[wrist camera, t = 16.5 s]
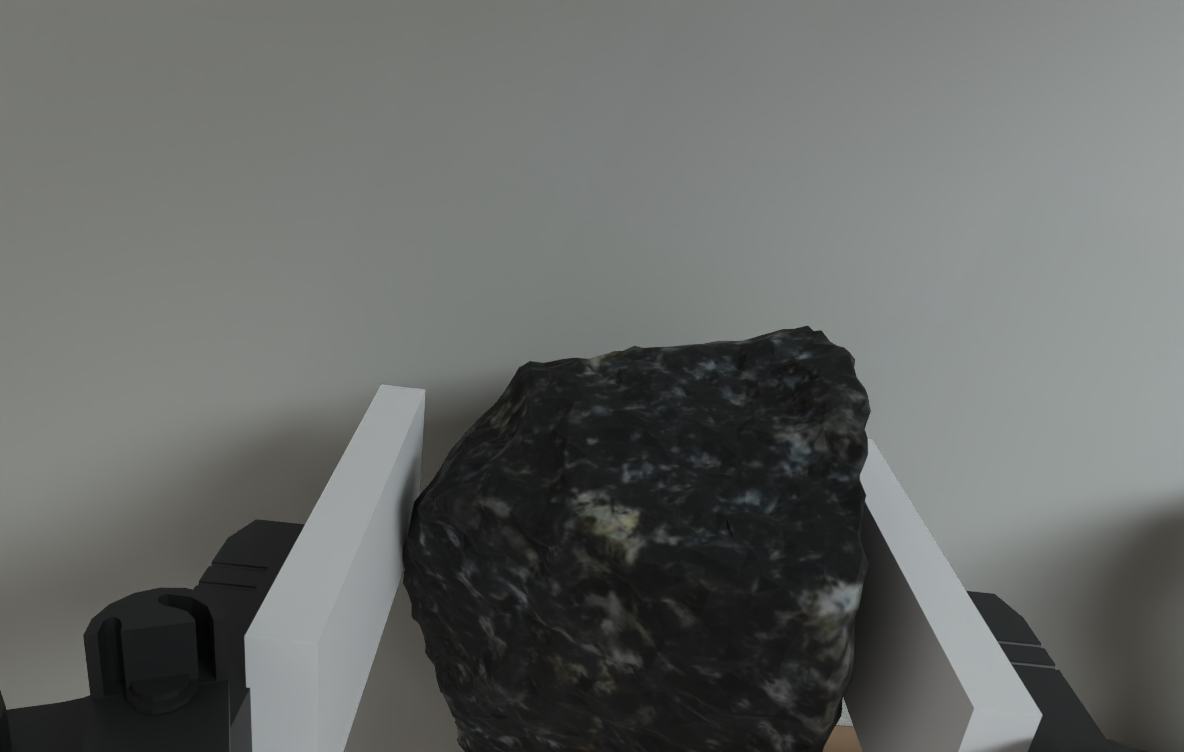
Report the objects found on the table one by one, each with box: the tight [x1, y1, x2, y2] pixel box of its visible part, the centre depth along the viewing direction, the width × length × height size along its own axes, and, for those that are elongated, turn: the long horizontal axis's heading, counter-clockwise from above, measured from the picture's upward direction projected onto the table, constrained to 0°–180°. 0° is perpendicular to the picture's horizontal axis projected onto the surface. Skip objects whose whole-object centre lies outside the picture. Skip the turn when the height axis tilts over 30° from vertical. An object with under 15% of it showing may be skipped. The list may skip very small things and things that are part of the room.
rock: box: [403, 326, 871, 752], centre depth 14 cm, size 7×10×6 cm
